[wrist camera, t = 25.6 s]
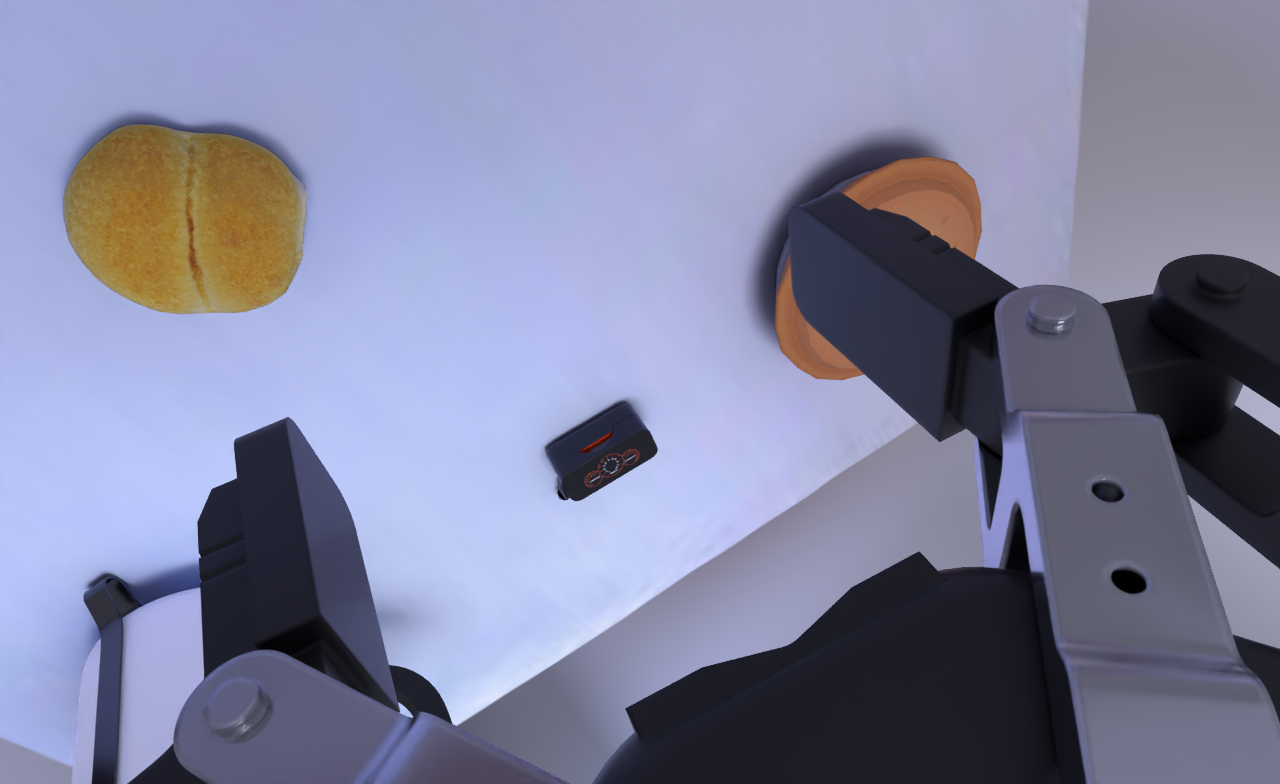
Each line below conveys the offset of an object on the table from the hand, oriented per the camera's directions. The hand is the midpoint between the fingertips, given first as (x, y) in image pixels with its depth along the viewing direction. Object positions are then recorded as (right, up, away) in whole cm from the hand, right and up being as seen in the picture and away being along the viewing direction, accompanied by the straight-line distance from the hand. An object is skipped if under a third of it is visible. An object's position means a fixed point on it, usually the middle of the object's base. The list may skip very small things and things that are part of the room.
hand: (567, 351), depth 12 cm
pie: (+15, +9, +41) cm, 45 cm away
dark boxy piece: (-3, -4, +42) cm, 42 cm away
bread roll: (-18, +7, +23) cm, 30 cm away
